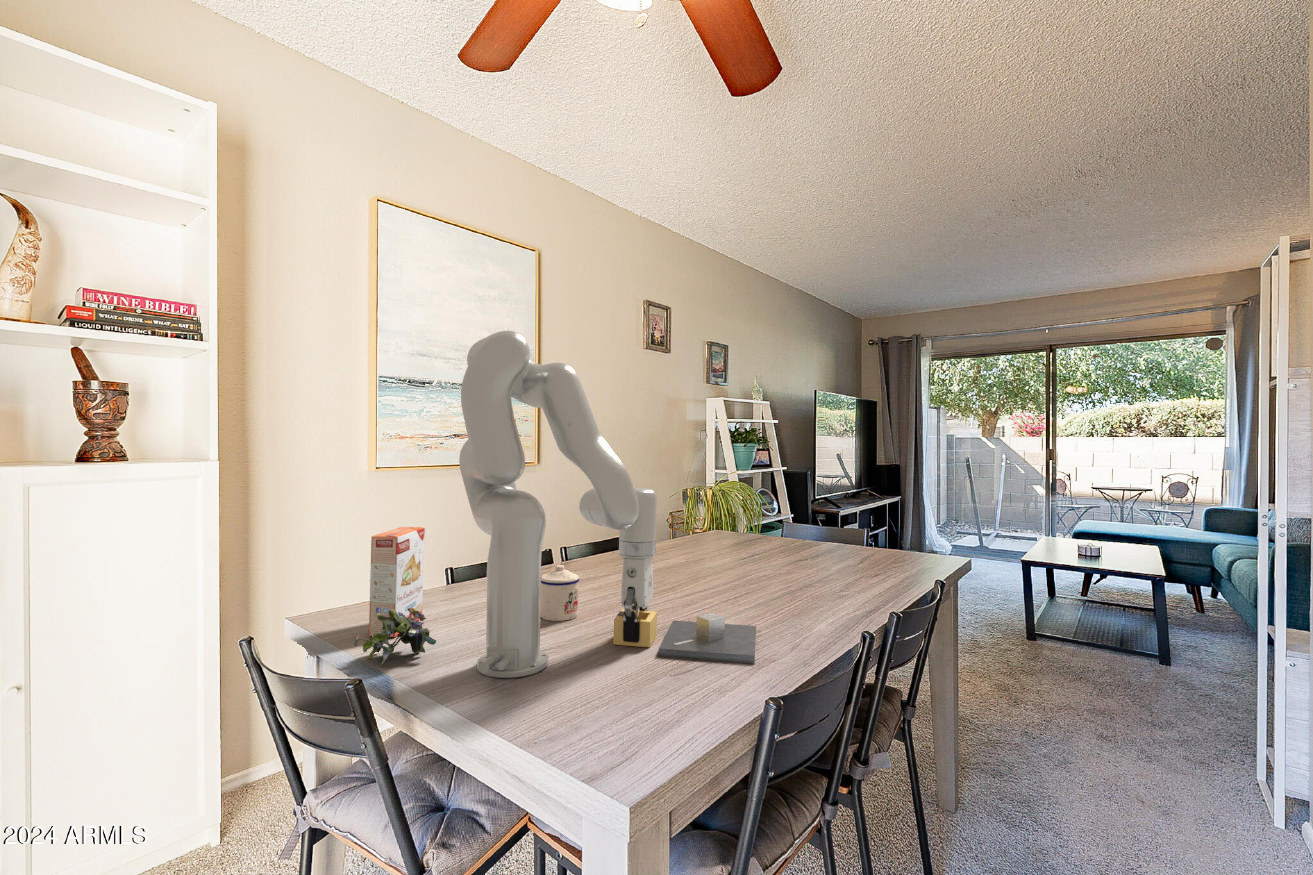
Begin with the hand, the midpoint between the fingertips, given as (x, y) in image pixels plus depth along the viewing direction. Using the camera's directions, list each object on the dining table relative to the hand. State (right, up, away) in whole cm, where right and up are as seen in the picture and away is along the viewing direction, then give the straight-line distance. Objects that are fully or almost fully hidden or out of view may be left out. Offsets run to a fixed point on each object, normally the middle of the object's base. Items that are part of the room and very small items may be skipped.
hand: (635, 634), depth 123 cm
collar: (0, -1, 0) cm, 1 cm away
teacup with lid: (-18, -1, +18) cm, 25 cm away
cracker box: (-51, -1, +6) cm, 52 cm away
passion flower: (-44, -1, -12) cm, 45 cm away
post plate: (+15, -1, -1) cm, 15 cm away
